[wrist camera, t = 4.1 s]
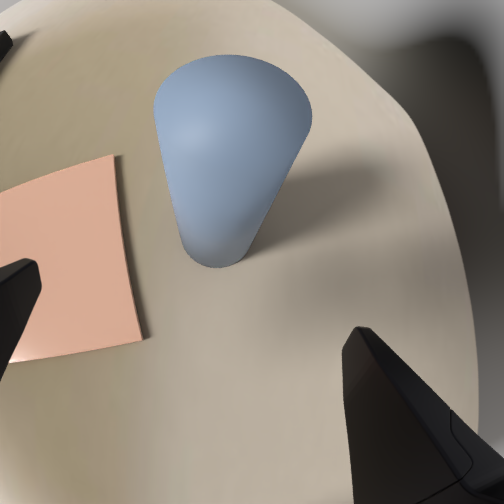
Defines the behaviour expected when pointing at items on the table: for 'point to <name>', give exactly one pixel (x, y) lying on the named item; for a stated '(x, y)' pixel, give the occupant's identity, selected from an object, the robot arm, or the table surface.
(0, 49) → the portable cd player
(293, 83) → the slate pillar
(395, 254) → the table surface
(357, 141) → the table surface
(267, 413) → the table surface
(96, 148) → the table surface
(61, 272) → the terracotta tile
